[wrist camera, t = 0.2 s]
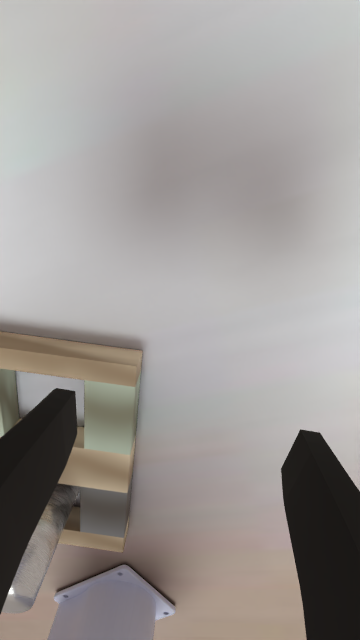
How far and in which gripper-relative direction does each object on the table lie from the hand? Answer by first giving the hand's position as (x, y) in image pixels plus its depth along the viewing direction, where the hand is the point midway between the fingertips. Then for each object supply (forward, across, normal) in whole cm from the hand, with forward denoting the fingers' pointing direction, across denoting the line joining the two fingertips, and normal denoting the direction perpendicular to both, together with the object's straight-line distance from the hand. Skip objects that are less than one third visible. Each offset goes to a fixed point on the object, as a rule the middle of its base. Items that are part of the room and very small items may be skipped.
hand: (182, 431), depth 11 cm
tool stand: (+8, +9, +14) cm, 18 cm away
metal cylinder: (+8, +9, +18) cm, 22 cm away
